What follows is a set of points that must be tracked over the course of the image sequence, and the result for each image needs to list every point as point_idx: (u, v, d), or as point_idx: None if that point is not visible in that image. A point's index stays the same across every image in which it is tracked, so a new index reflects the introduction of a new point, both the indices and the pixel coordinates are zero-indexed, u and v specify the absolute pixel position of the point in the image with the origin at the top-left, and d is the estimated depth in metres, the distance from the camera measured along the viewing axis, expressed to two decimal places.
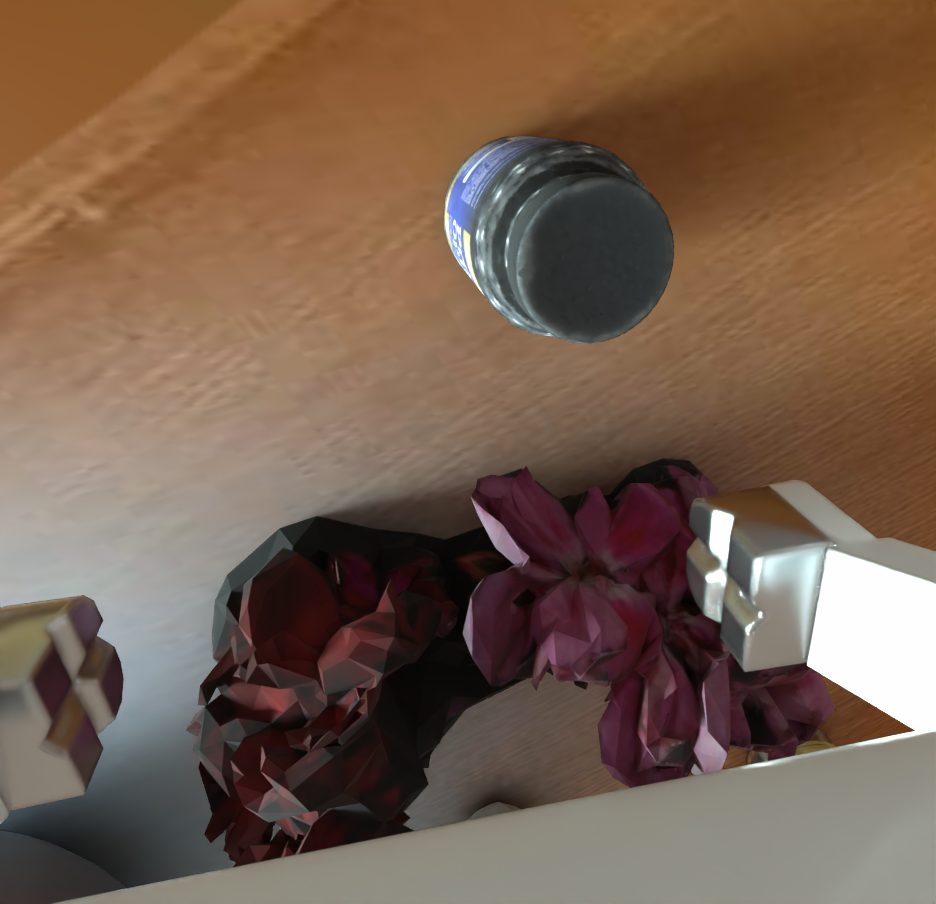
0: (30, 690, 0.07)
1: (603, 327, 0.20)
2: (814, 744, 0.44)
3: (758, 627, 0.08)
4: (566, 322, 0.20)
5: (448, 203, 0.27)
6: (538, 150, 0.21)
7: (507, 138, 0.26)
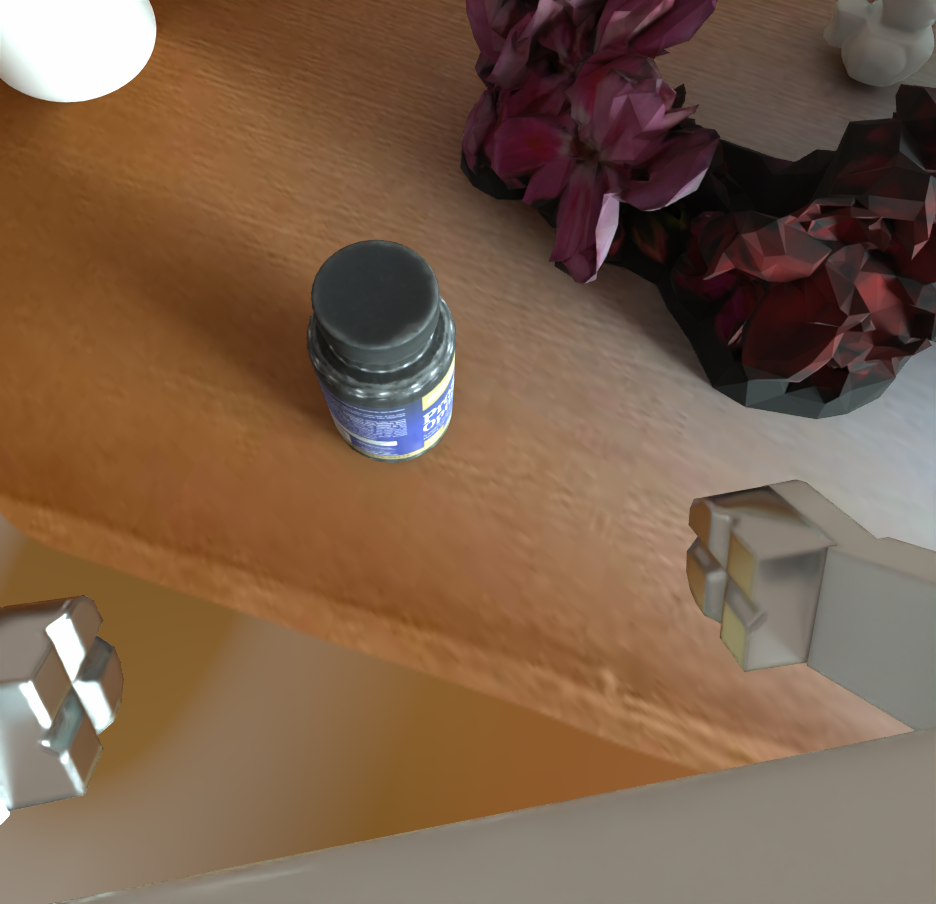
0: (30, 690, 0.07)
1: (408, 259, 0.25)
2: None
3: (757, 627, 0.08)
4: (423, 283, 0.25)
5: (418, 449, 0.33)
6: (340, 391, 0.27)
7: (350, 442, 0.33)
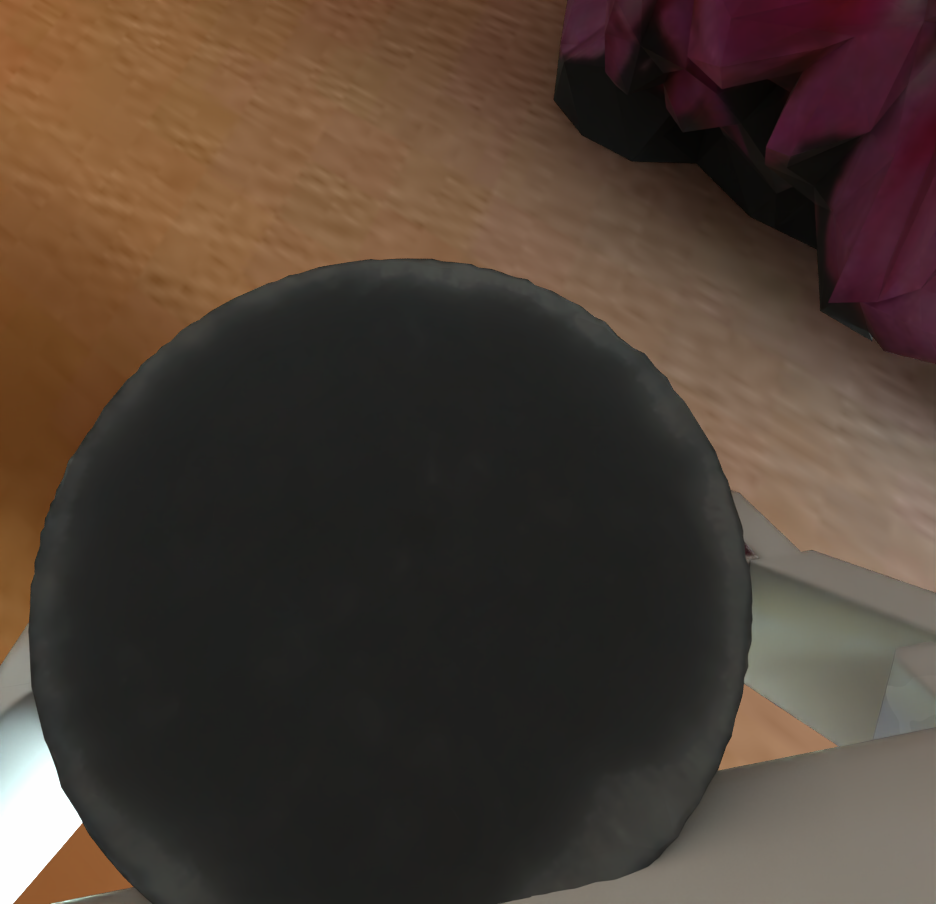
0: None
1: (569, 358, 0.05)
2: None
3: None
4: (662, 494, 0.05)
5: None
6: None
7: None
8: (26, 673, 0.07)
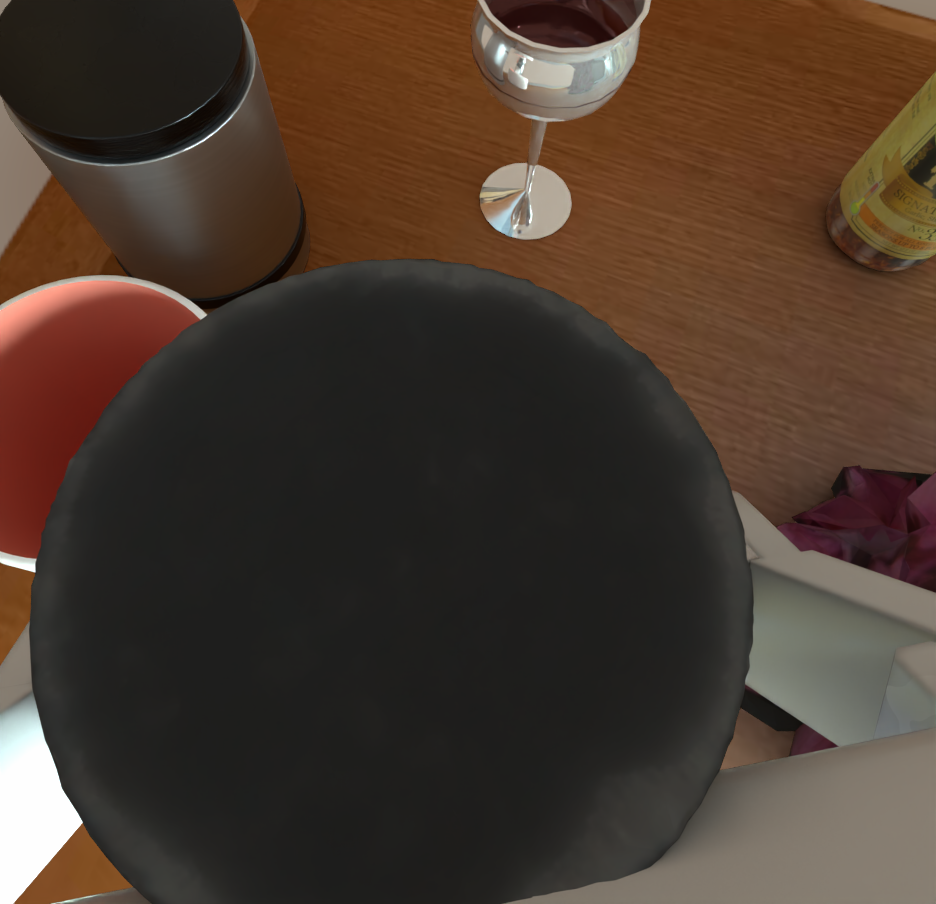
0: None
1: (571, 359, 0.05)
2: (861, 232, 0.34)
3: None
4: (663, 495, 0.05)
5: None
6: None
7: None
8: (26, 673, 0.07)
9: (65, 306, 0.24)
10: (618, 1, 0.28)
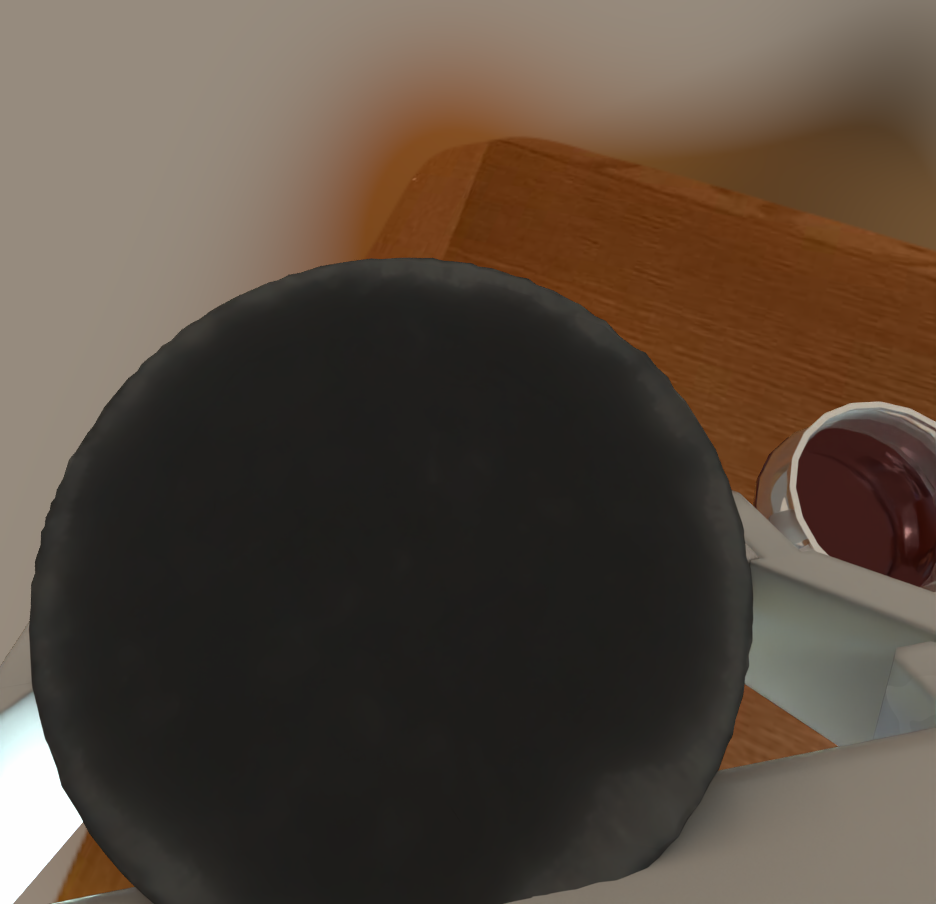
0: None
1: (570, 358, 0.05)
2: None
3: None
4: (662, 494, 0.05)
5: None
6: None
7: None
8: (26, 673, 0.07)
9: None
10: (917, 460, 0.25)
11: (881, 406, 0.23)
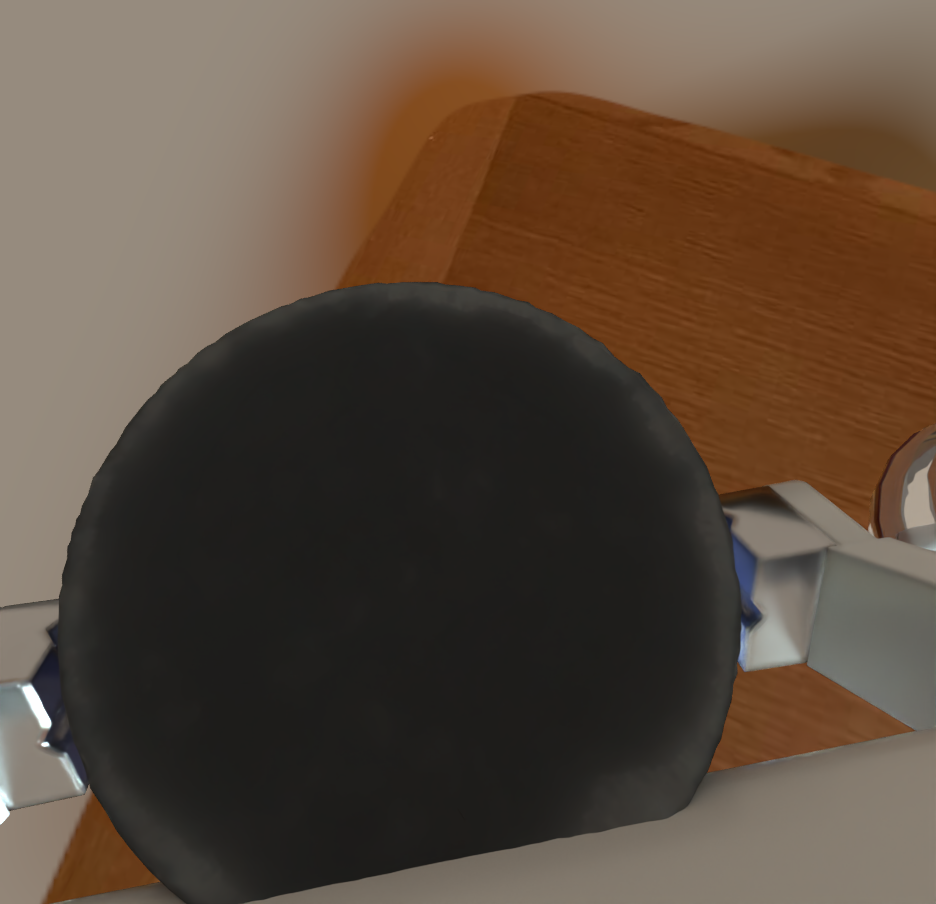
0: (30, 690, 0.07)
1: (568, 378, 0.05)
2: None
3: (758, 627, 0.08)
4: (656, 508, 0.05)
5: None
6: None
7: None
8: None
9: None
10: None
11: None
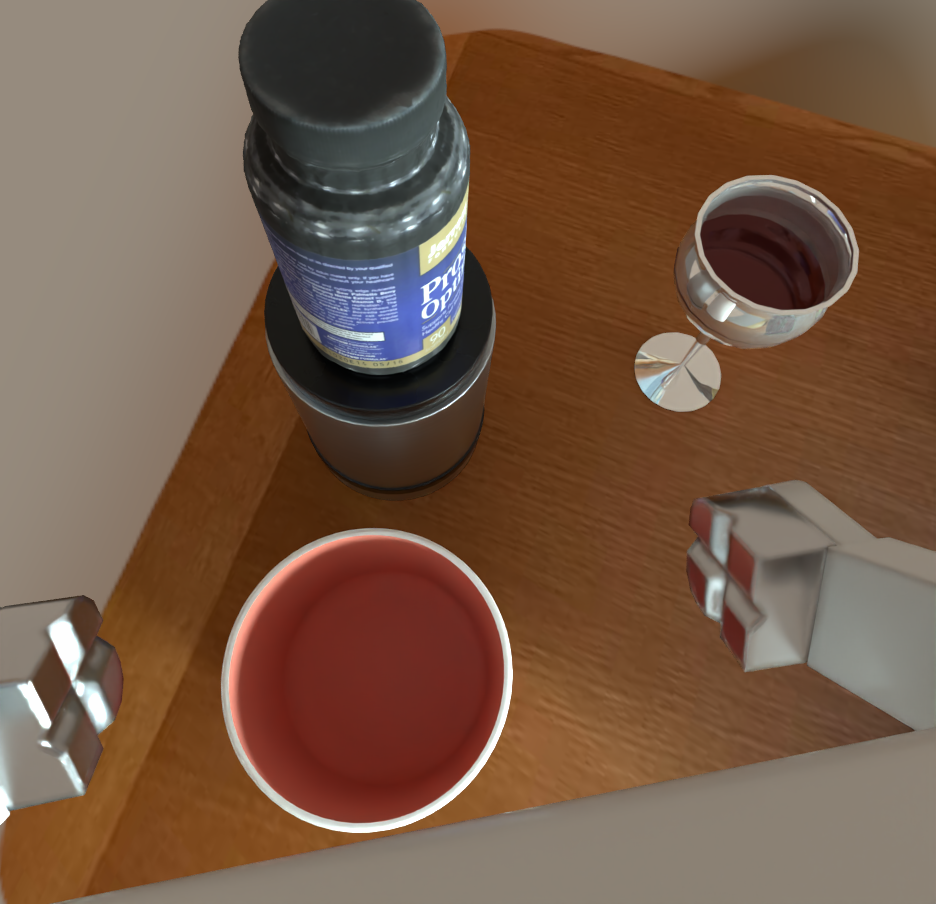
0: (30, 690, 0.07)
1: (397, 3, 0.16)
2: None
3: (759, 627, 0.08)
4: (420, 36, 0.16)
5: (414, 351, 0.23)
6: (292, 230, 0.17)
7: (319, 343, 0.23)
8: None
9: (329, 549, 0.26)
10: (808, 235, 0.30)
11: (772, 178, 0.28)
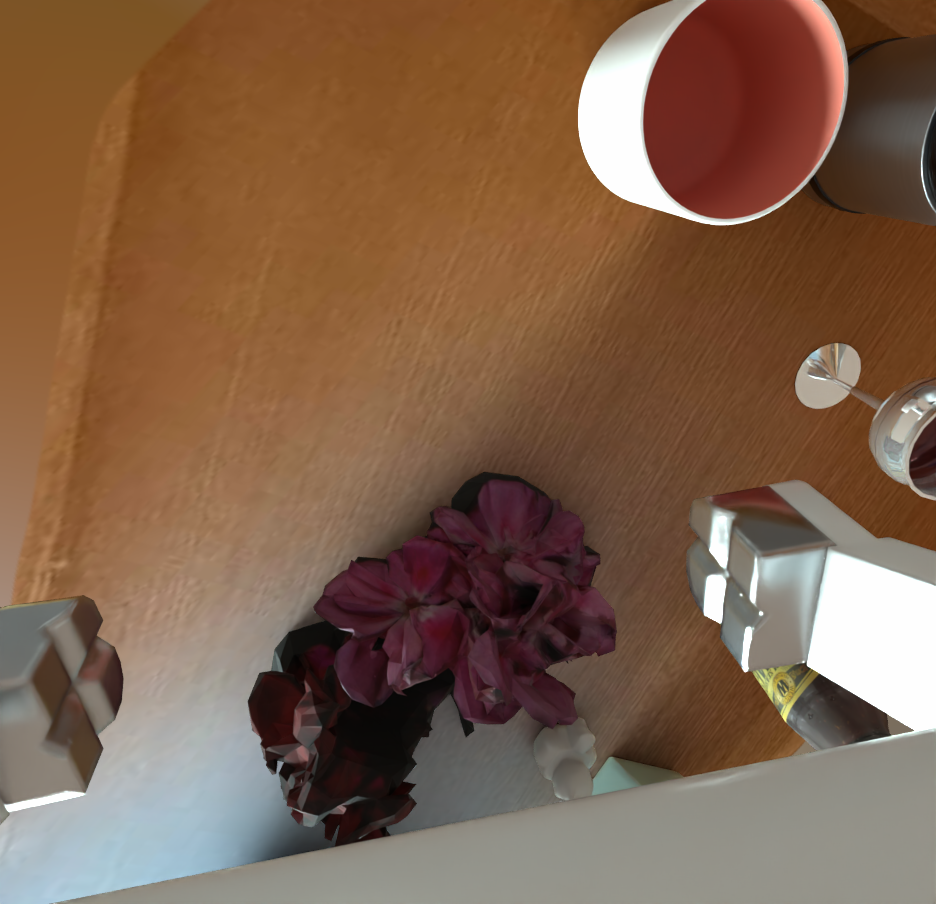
0: (30, 690, 0.07)
1: None
2: None
3: (758, 627, 0.08)
4: None
5: None
6: None
7: None
8: None
9: (828, 73, 0.31)
10: None
11: None
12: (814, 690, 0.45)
